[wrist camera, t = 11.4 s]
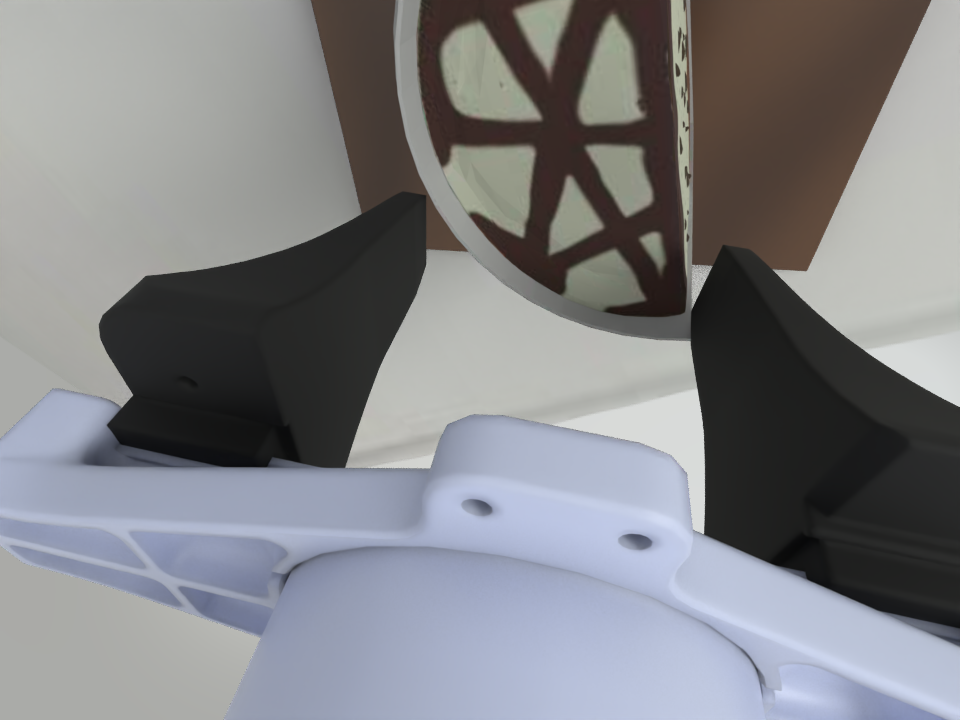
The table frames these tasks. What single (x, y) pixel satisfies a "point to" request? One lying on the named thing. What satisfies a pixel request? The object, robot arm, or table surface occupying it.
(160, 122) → the table surface
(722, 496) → the robot arm
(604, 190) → the food container
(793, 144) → the walnut board
